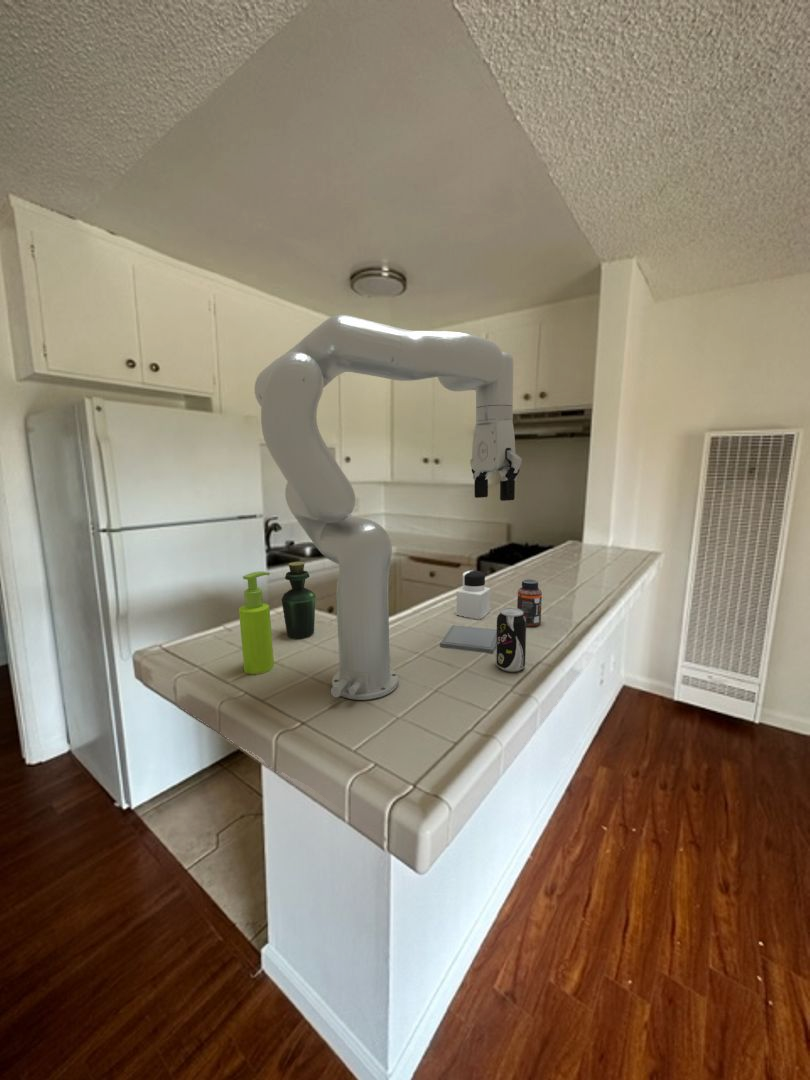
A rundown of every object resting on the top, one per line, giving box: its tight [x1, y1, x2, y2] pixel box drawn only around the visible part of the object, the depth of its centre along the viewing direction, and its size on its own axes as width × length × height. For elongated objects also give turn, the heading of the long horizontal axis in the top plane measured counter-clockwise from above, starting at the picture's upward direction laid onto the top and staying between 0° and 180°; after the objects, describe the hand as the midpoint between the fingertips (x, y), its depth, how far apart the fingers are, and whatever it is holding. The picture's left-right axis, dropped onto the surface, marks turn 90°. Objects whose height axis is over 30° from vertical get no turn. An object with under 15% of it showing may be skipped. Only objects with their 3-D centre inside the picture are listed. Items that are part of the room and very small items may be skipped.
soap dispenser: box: [238, 571, 275, 675], centre depth 90 cm, size 6×7×20 cm
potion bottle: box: [281, 561, 316, 640], centre depth 107 cm, size 8×8×18 cm
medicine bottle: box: [456, 570, 491, 620], centre depth 120 cm, size 7×7×12 cm
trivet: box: [439, 624, 497, 654], centre depth 103 cm, size 12×12×1 cm
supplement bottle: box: [516, 578, 543, 628], centre depth 112 cm, size 6×6×11 cm
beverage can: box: [495, 607, 527, 673], centre depth 88 cm, size 6×6×12 cm
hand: (493, 498), depth 94 cm, fingers open, 9 cm apart
